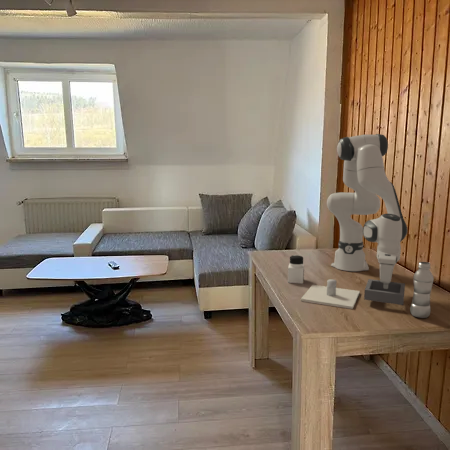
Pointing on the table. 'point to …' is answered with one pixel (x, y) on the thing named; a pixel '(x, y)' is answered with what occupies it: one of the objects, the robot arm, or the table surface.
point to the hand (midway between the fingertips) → (385, 287)
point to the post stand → (331, 295)
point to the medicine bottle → (296, 269)
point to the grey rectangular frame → (385, 292)
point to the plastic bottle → (422, 291)
